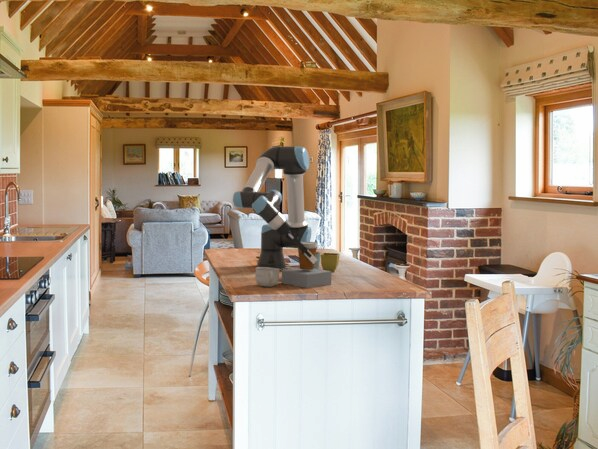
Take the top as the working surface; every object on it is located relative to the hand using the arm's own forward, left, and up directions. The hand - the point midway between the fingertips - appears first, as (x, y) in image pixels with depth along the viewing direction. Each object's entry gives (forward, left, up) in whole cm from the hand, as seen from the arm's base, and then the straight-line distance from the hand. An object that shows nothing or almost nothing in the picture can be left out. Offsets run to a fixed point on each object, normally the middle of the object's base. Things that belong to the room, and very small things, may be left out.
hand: (314, 260), depth 299 cm
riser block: (-2, -2, -11) cm, 11 cm away
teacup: (-8, -21, -11) cm, 25 cm away
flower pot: (-21, +36, -11) cm, 43 cm away
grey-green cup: (-14, +13, -11) cm, 22 cm away
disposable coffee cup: (-2, -2, -4) cm, 5 cm away
